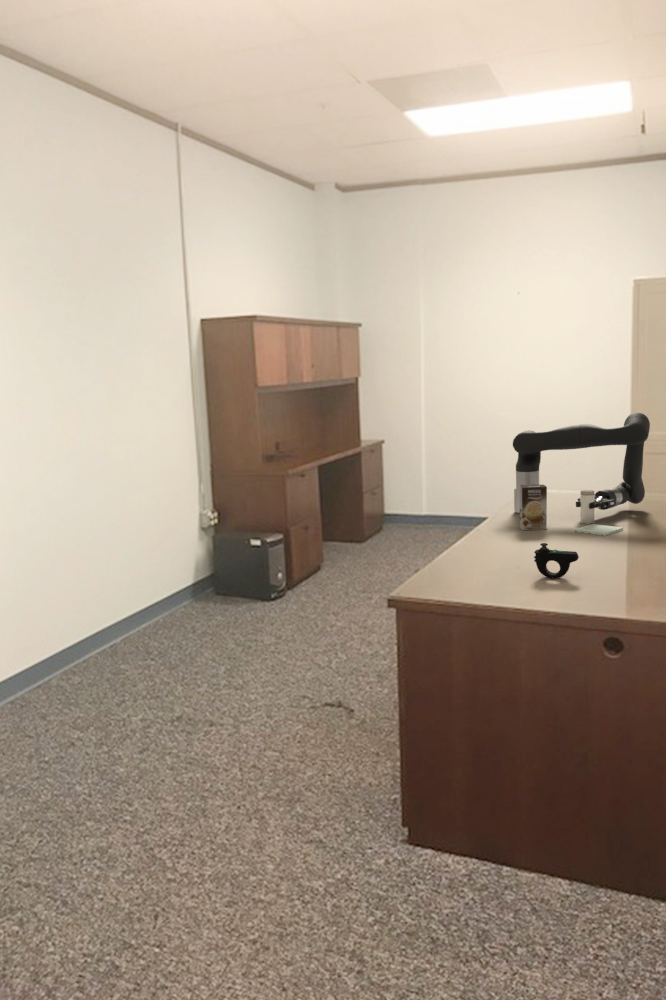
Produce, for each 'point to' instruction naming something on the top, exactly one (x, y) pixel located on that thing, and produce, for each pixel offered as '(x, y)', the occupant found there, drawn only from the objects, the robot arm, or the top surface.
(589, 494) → the ceramic jar
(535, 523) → the coffee box
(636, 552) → the top surface
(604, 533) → the sage pad
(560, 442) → the robot arm
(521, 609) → the top surface
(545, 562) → the controller
